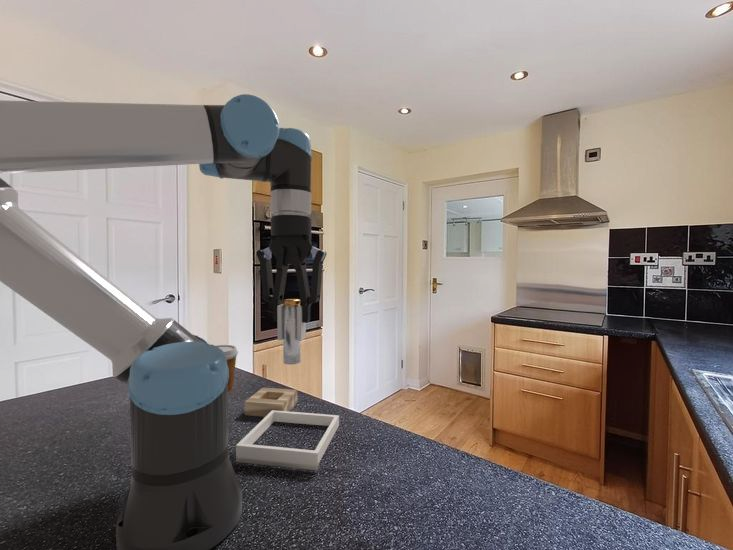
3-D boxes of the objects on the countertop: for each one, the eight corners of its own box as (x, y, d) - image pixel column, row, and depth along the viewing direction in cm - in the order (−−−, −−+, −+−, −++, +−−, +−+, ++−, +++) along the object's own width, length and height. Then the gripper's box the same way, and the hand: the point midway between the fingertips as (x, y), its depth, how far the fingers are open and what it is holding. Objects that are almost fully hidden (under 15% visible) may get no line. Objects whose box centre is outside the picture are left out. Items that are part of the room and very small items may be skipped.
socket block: (282, 422, 79) (282, 404, 78) (244, 419, 80) (244, 401, 80) (297, 405, 87) (297, 389, 87) (262, 403, 89) (262, 387, 89)
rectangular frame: (317, 470, 61) (317, 453, 61) (236, 461, 63) (235, 445, 63) (339, 429, 75) (339, 415, 75) (272, 423, 78) (272, 410, 78)
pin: (297, 364, 67) (296, 301, 66) (280, 364, 67) (280, 300, 67) (302, 360, 70) (302, 299, 69) (287, 359, 71) (287, 298, 70)
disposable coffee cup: (230, 400, 91) (229, 353, 90) (193, 399, 91) (192, 353, 91) (243, 386, 100) (243, 344, 100) (210, 386, 101) (209, 344, 100)
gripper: (337, 217, 70) (337, 336, 71) (260, 218, 73) (261, 333, 74) (327, 212, 62) (327, 345, 63) (241, 214, 65) (242, 341, 66)
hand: (291, 338), depth 68 cm, fingers closed on pin, 3 cm apart
